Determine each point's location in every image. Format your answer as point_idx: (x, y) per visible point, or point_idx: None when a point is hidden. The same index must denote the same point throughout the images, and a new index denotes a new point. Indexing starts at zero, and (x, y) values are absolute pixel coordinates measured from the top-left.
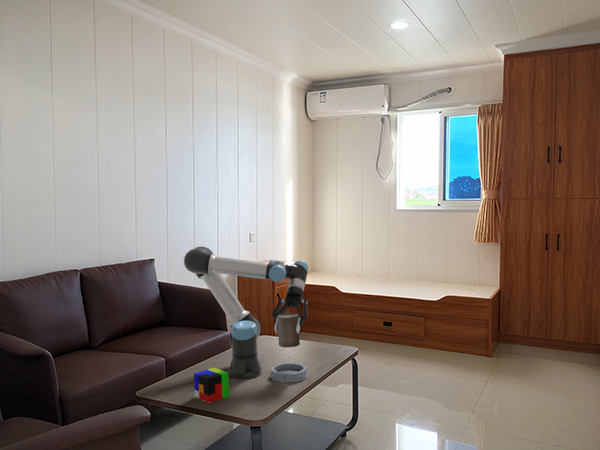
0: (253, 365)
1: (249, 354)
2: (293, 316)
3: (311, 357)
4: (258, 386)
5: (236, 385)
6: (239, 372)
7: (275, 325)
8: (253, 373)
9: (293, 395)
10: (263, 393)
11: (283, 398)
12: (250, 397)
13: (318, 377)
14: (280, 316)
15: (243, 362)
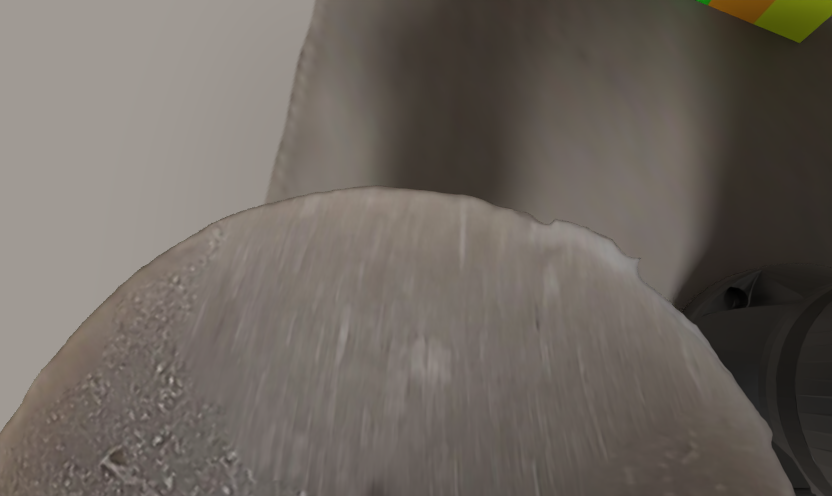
0: (730, 329)
1: (828, 310)
2: (81, 344)
3: None
4: (566, 167)
5: (716, 151)
6: (794, 264)
7: None
8: (692, 314)
9: (304, 86)
10: (487, 72)
11: (347, 34)
12: (535, 3)
13: None
14: (587, 292)
15: (824, 281)
